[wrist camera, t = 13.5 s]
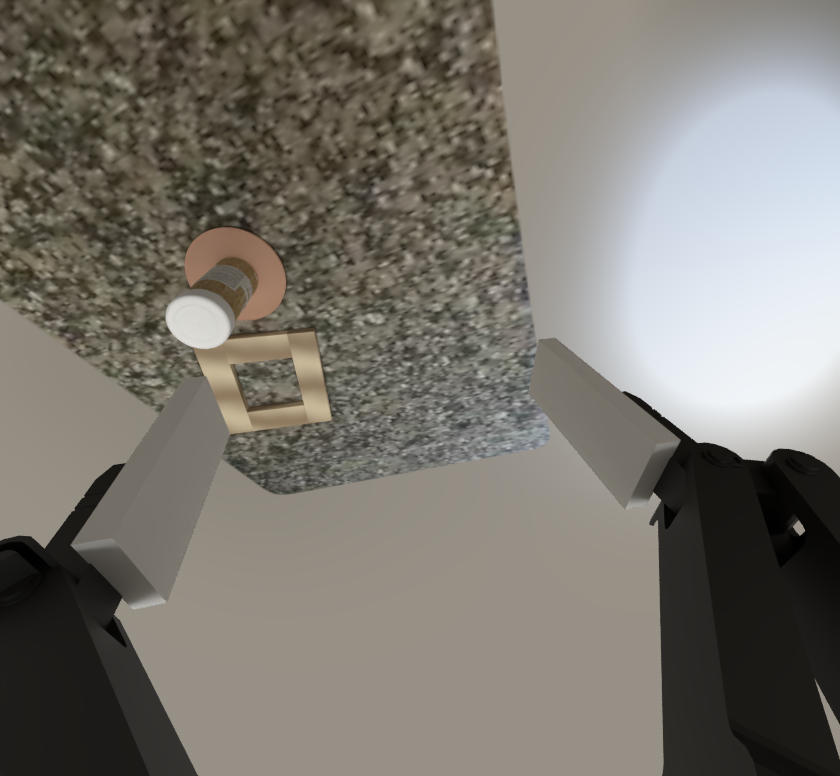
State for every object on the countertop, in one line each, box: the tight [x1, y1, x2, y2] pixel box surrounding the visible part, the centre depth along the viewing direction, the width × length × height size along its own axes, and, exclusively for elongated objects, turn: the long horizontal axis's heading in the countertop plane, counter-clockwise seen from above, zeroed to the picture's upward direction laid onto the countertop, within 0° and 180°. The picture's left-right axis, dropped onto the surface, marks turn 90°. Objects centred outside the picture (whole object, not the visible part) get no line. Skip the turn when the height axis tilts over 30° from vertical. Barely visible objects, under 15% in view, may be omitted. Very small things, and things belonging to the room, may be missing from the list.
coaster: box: [185, 227, 287, 320], centre depth 39 cm, size 10×10×1 cm
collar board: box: [193, 328, 332, 434], centre depth 46 cm, size 14×14×1 cm
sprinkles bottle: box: [166, 257, 258, 349], centre depth 33 cm, size 5×5×14 cm
